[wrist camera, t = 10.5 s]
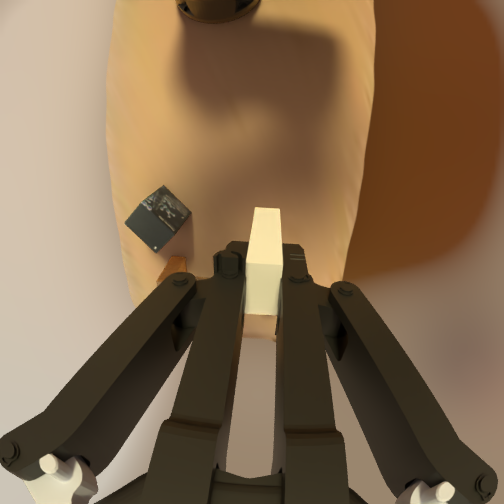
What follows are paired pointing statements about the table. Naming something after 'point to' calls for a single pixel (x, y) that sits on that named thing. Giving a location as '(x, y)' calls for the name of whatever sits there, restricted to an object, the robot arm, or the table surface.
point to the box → (158, 218)
